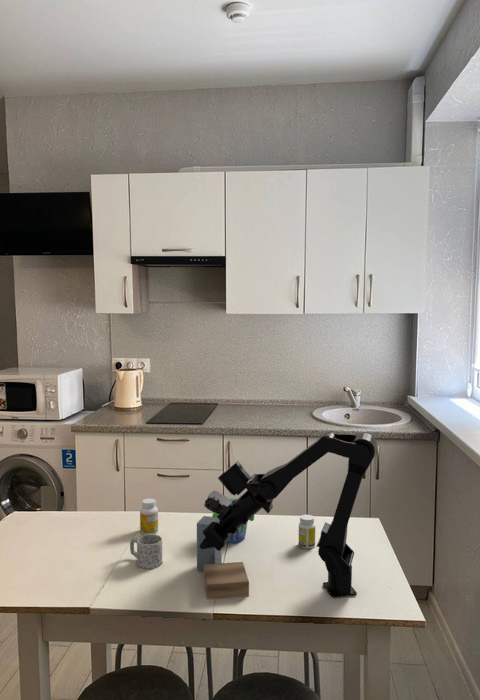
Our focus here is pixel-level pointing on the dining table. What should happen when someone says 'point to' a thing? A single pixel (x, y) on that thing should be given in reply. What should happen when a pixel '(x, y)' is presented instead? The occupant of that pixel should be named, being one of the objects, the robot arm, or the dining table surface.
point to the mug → (147, 551)
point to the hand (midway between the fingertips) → (204, 543)
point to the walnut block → (226, 580)
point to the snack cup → (240, 532)
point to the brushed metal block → (210, 553)
